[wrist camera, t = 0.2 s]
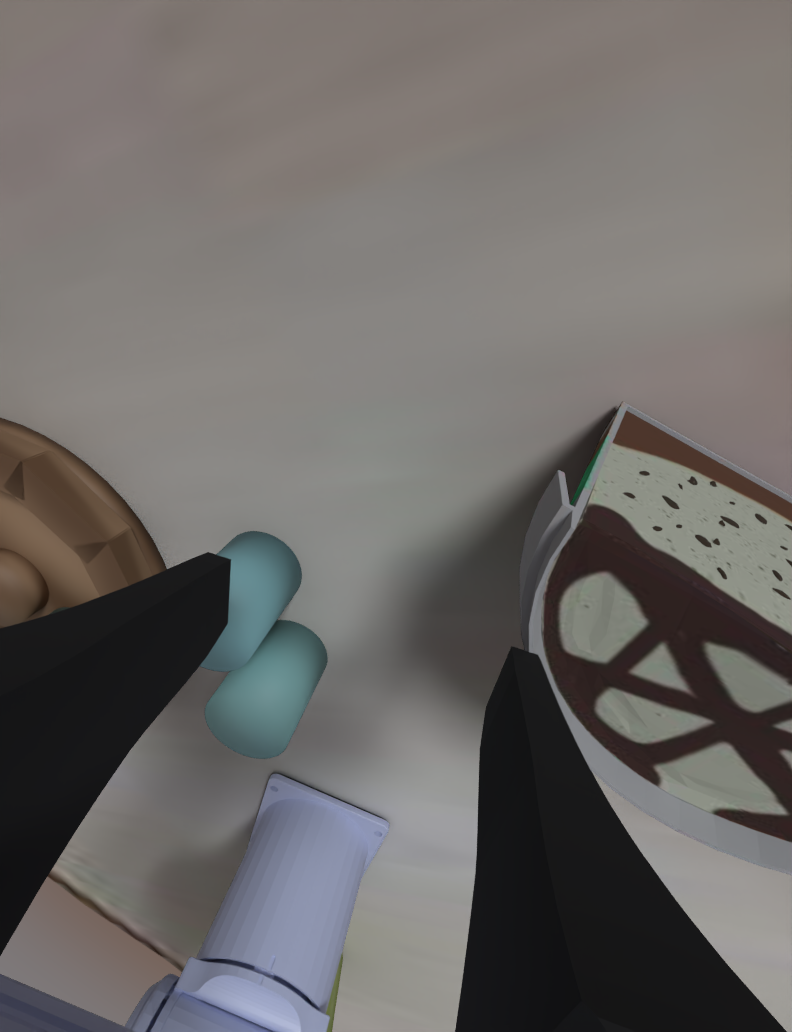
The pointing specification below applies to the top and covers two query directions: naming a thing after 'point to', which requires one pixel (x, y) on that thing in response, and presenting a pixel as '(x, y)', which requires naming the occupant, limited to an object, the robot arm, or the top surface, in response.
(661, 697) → the food container
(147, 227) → the top surface
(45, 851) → the robot arm
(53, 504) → the groove tray
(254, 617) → the bead
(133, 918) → the top surface
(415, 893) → the top surface
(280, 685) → the loose bead
